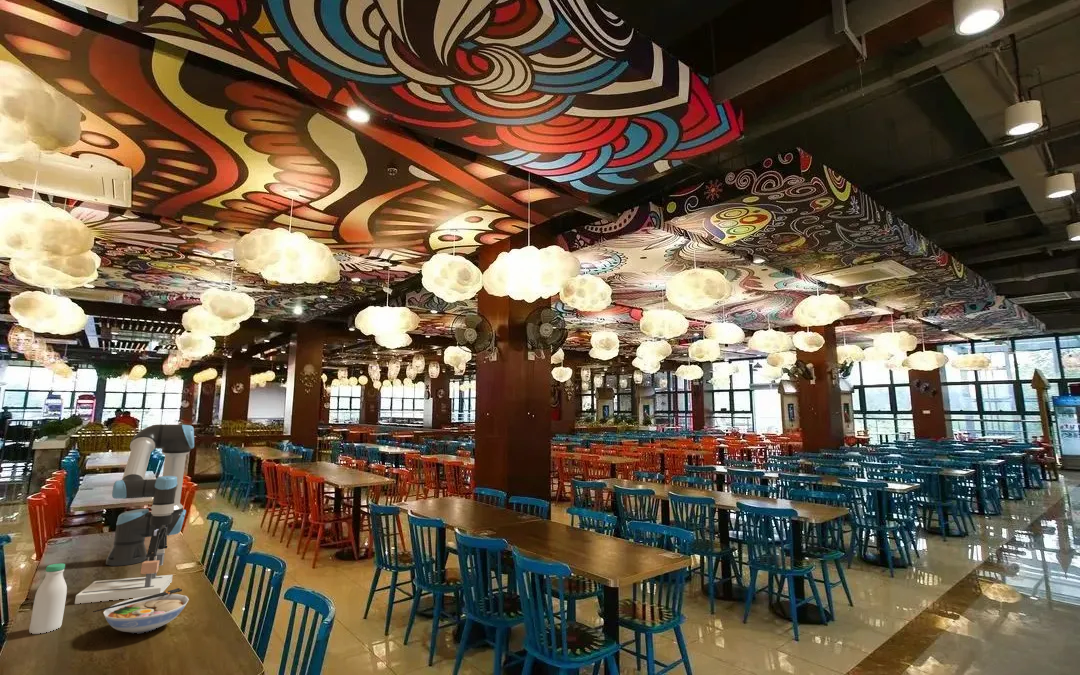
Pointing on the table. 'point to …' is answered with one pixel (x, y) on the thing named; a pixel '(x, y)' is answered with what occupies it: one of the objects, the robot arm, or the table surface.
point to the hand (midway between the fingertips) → (154, 569)
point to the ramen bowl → (145, 612)
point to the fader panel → (122, 589)
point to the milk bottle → (49, 601)
